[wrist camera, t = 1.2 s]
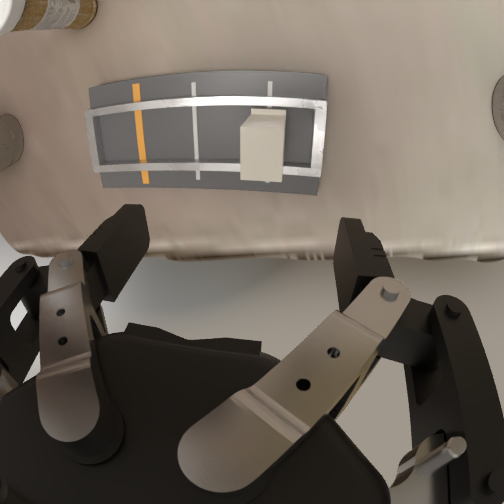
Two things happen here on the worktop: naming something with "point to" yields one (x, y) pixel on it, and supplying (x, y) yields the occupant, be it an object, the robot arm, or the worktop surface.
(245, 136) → the block
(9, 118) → the thermos bottle
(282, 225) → the worktop surface
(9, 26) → the sprinkles bottle
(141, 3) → the worktop surface
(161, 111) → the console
